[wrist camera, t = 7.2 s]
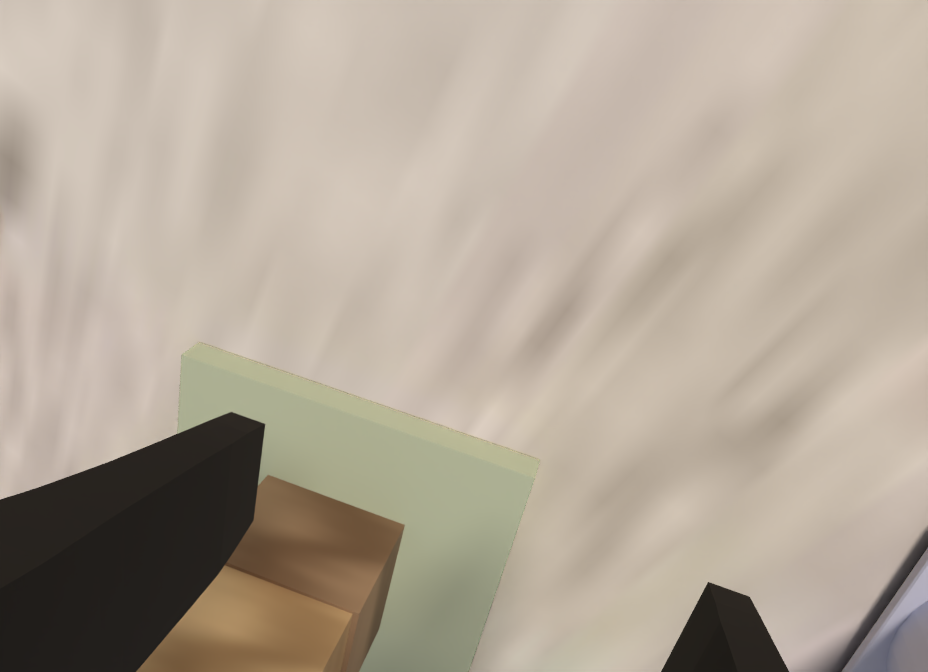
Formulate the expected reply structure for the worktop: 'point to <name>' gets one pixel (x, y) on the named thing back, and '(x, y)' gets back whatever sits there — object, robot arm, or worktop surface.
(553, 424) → the worktop surface
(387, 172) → the worktop surface
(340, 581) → the walnut block
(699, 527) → the worktop surface
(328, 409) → the build board
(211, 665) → the oak block
